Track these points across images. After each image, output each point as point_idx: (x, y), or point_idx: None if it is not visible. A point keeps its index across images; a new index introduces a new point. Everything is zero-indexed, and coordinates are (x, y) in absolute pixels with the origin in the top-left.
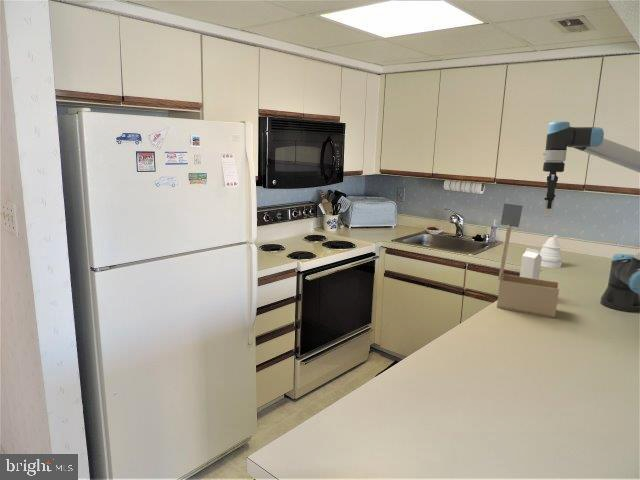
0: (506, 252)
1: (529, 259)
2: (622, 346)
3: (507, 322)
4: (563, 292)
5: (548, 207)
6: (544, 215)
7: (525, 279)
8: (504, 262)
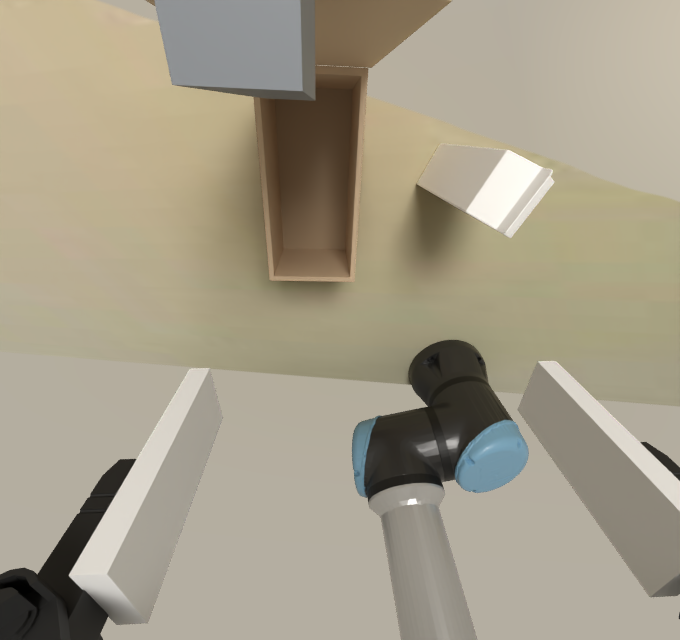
0: (352, 49)
1: (477, 186)
2: (198, 354)
3: (154, 129)
4: (513, 270)
5: (111, 483)
6: (185, 378)
7: (355, 173)
8: (336, 57)
